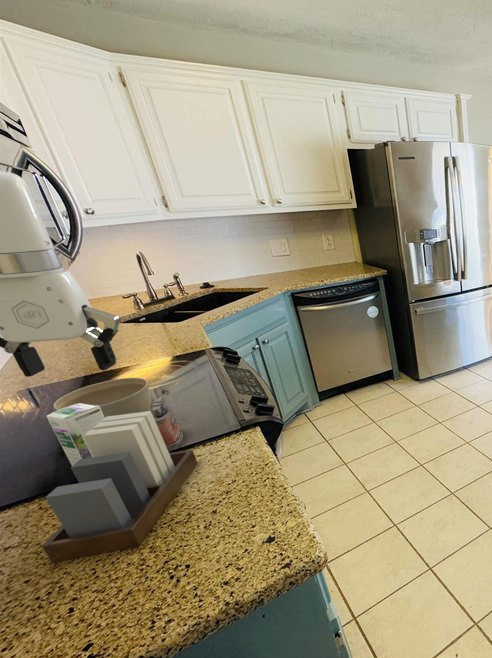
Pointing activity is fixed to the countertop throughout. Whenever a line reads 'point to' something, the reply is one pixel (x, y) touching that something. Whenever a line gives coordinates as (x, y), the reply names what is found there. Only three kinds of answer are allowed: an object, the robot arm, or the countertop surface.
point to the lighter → (167, 423)
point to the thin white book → (125, 449)
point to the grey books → (100, 495)
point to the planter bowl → (112, 397)
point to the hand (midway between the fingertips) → (72, 370)
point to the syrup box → (75, 429)
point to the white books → (145, 437)
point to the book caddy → (135, 534)
